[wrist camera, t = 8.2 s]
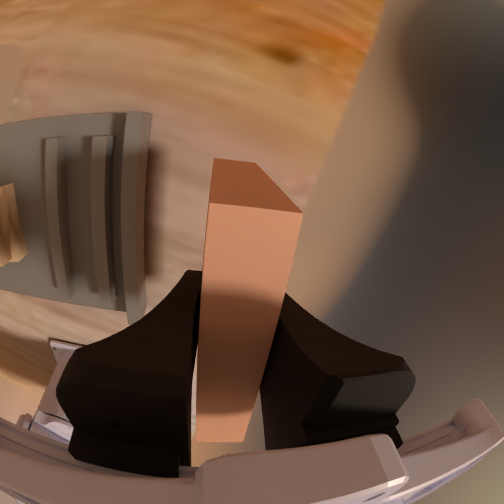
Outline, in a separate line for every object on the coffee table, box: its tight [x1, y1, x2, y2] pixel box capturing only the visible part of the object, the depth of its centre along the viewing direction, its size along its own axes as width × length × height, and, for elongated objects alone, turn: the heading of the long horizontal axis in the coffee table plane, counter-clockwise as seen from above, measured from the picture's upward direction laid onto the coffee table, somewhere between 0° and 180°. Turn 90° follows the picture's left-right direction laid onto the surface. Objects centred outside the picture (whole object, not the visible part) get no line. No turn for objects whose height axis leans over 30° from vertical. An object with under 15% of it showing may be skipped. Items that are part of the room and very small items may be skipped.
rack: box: [0, 112, 152, 325], centre depth 16 cm, size 15×17×2 cm
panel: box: [196, 158, 303, 442], centre depth 11 cm, size 10×2×8 cm, turn 171°
